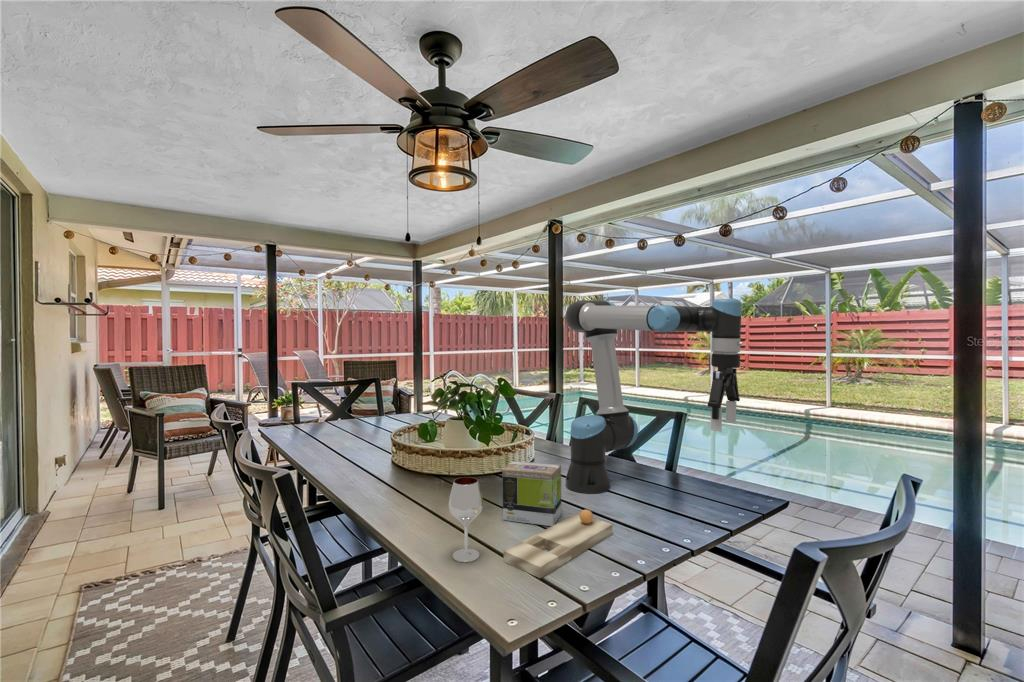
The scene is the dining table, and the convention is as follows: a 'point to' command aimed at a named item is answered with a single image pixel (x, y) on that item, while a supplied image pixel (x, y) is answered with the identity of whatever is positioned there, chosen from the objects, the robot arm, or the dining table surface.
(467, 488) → the wineglass
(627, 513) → the dining table surface
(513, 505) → the tea box
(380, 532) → the dining table surface
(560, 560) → the board
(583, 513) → the ball
